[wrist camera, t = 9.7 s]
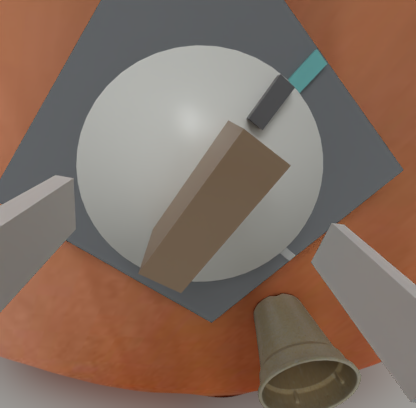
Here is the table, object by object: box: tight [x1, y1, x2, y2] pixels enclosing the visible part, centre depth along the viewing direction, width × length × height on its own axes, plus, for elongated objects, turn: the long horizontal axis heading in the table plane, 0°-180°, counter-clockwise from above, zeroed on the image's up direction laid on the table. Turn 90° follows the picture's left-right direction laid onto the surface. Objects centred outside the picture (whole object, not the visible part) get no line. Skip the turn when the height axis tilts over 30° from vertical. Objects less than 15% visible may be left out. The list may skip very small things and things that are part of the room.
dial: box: [76, 45, 323, 293], centre depth 15 cm, size 18×18×6 cm
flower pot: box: [254, 294, 361, 408], centre depth 24 cm, size 9×9×9 cm
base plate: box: [0, 0, 403, 323], centre depth 19 cm, size 24×24×2 cm
